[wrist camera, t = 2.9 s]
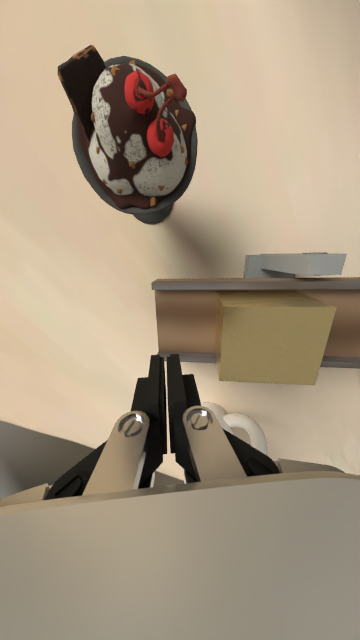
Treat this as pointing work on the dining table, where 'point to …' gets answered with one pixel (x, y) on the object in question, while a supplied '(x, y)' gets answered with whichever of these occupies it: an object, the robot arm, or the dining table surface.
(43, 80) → the dining table surface
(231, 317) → the block
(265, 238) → the dining table surface
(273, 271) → the pivot stand
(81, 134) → the sundae
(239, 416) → the mug
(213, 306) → the beam
